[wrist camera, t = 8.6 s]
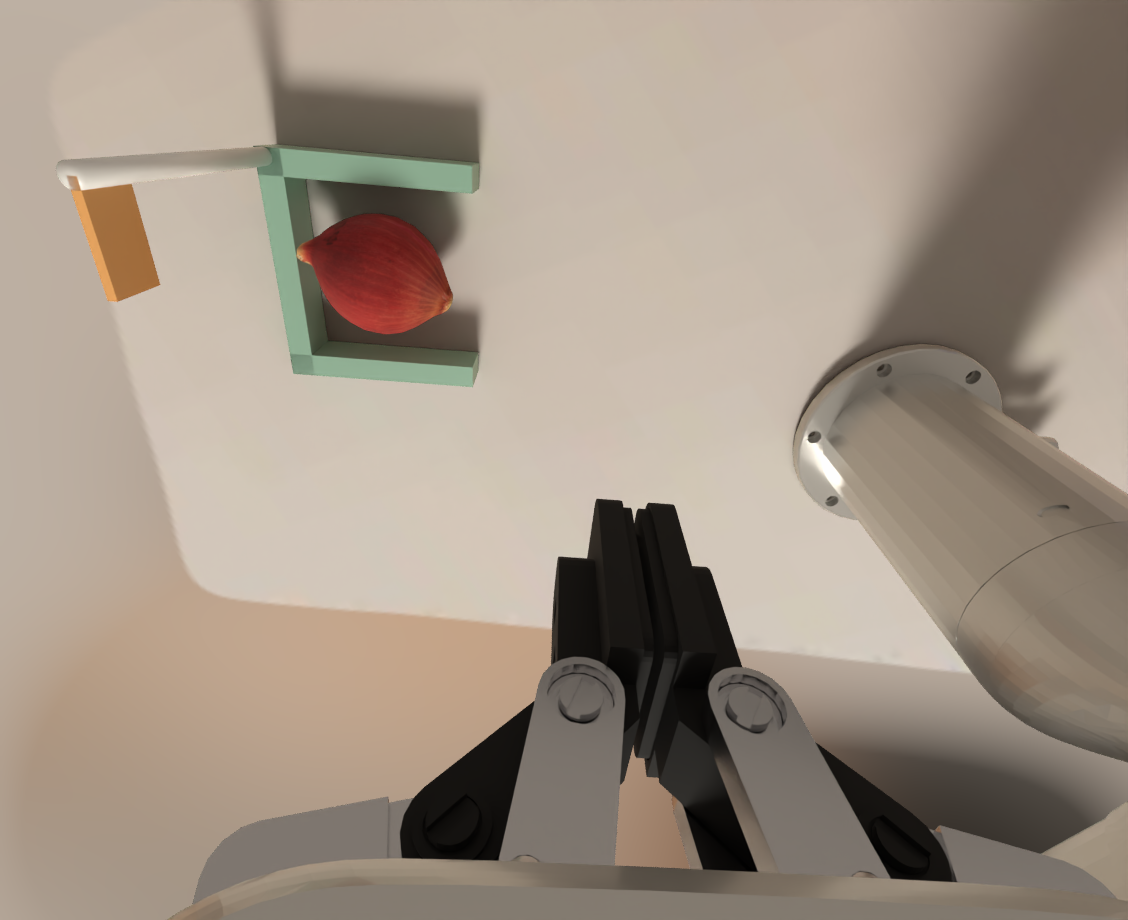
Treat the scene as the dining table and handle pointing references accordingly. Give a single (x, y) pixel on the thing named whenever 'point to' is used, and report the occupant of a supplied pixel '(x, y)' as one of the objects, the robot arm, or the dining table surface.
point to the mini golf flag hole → (284, 193)
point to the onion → (379, 273)
